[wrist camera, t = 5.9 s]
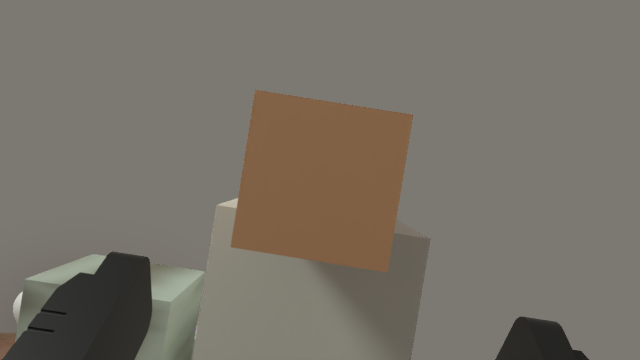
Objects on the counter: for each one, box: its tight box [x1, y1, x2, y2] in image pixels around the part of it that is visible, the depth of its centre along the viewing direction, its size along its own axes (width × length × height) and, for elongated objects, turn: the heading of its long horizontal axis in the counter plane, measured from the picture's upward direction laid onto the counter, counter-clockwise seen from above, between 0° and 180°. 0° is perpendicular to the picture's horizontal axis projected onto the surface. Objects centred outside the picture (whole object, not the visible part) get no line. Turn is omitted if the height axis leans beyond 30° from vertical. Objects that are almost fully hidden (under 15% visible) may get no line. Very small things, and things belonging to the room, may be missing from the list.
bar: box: [231, 90, 413, 273], centre depth 25 cm, size 26×4×4 cm, turn 179°
